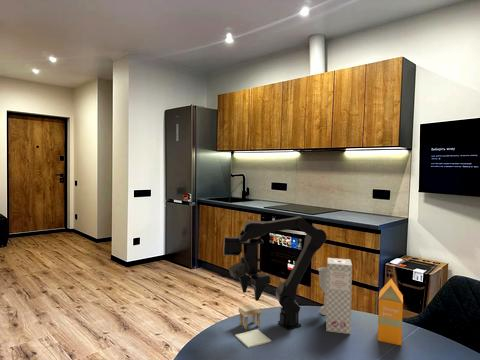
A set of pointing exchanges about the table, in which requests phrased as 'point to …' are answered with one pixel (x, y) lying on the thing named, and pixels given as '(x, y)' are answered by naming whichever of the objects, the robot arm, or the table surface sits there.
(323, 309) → the chalice
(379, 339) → the orange juice
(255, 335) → the mat
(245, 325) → the tan block with pegs
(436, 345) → the table surface
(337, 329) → the box
